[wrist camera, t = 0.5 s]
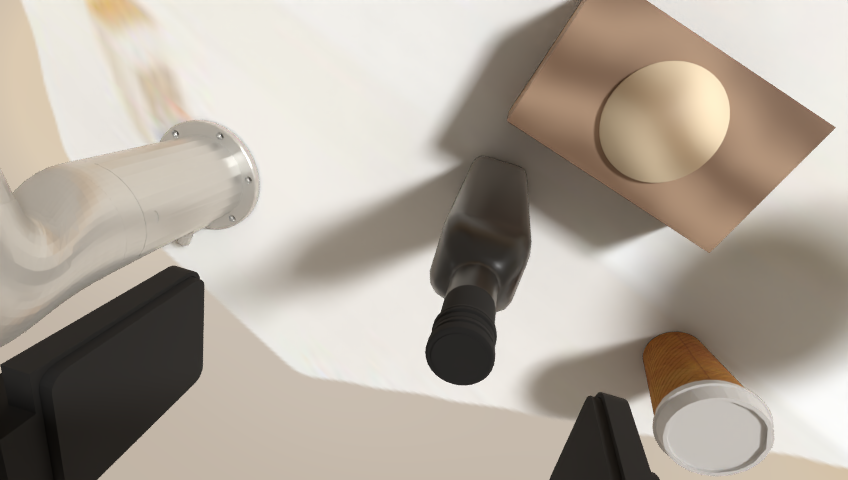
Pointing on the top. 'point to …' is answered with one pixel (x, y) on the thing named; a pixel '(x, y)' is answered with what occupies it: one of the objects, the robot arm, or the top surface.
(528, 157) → the top surface
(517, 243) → the wine bottle
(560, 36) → the brown rectangular block
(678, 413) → the disposable coffee cup
